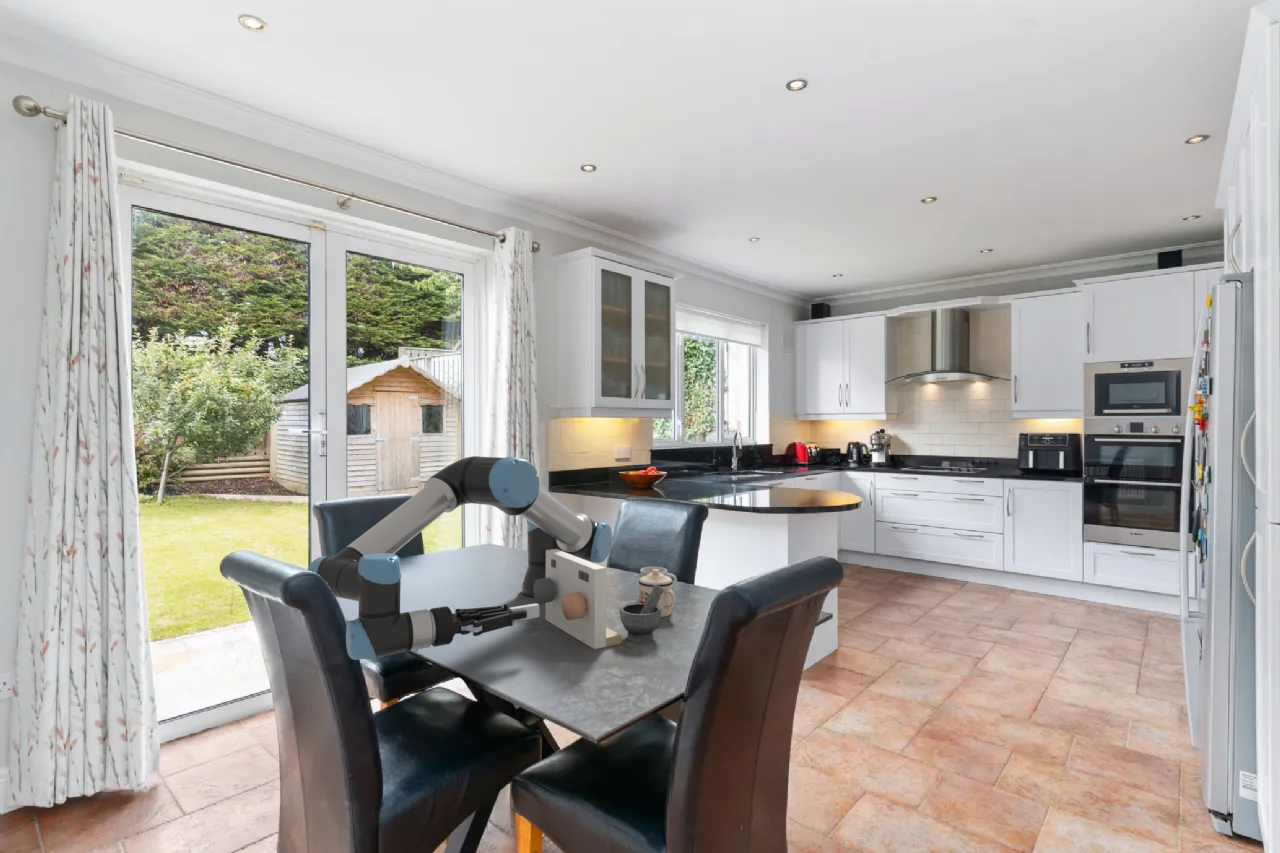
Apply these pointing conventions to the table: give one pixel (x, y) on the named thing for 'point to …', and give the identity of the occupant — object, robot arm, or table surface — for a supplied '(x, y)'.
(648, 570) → the cup
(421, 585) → the table surface
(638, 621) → the mortar and pestle
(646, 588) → the teacup with lid
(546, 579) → the charcoal button
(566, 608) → the terracotta button
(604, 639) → the button panel
